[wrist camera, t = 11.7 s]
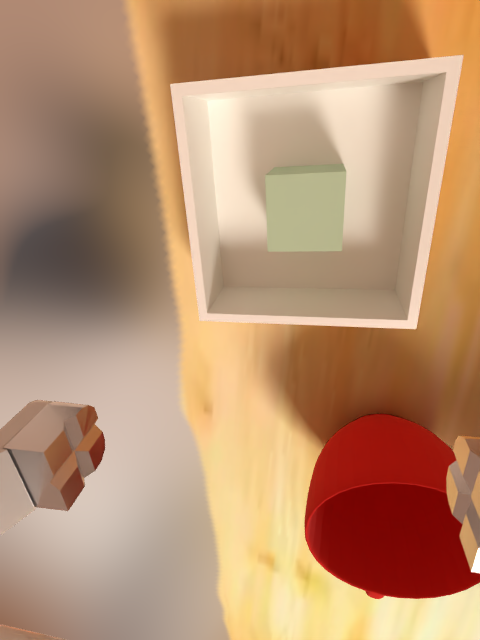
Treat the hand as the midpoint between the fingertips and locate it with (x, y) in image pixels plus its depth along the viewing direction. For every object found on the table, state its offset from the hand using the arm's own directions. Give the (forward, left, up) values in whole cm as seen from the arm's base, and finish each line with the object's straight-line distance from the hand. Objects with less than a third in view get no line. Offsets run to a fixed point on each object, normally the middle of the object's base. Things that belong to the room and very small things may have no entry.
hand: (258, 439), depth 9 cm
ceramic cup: (-7, +22, -22) cm, 32 cm away
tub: (0, -2, -22) cm, 22 cm away
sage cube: (0, -2, -21) cm, 21 cm away
